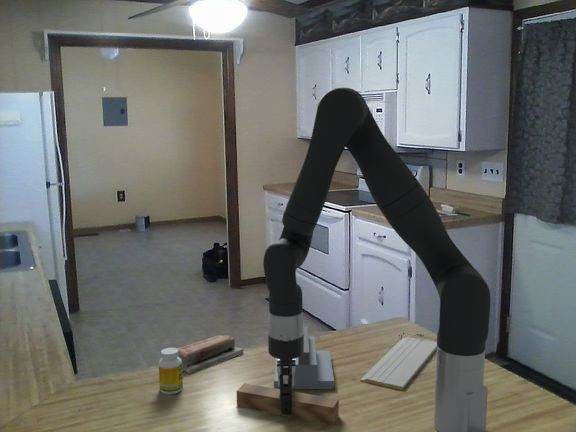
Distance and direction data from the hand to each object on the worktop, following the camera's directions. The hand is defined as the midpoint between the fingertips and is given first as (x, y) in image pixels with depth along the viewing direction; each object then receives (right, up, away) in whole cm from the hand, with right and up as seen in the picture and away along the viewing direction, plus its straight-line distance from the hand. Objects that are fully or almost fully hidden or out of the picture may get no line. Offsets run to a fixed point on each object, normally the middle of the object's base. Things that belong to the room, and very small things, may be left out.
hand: (286, 406), depth 127 cm
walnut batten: (0, -1, 0) cm, 1 cm away
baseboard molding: (+29, +3, +26) cm, 39 cm away
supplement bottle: (-27, 0, +11) cm, 29 cm away
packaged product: (-21, +3, +29) cm, 36 cm away
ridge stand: (+4, +2, +19) cm, 20 cm away
